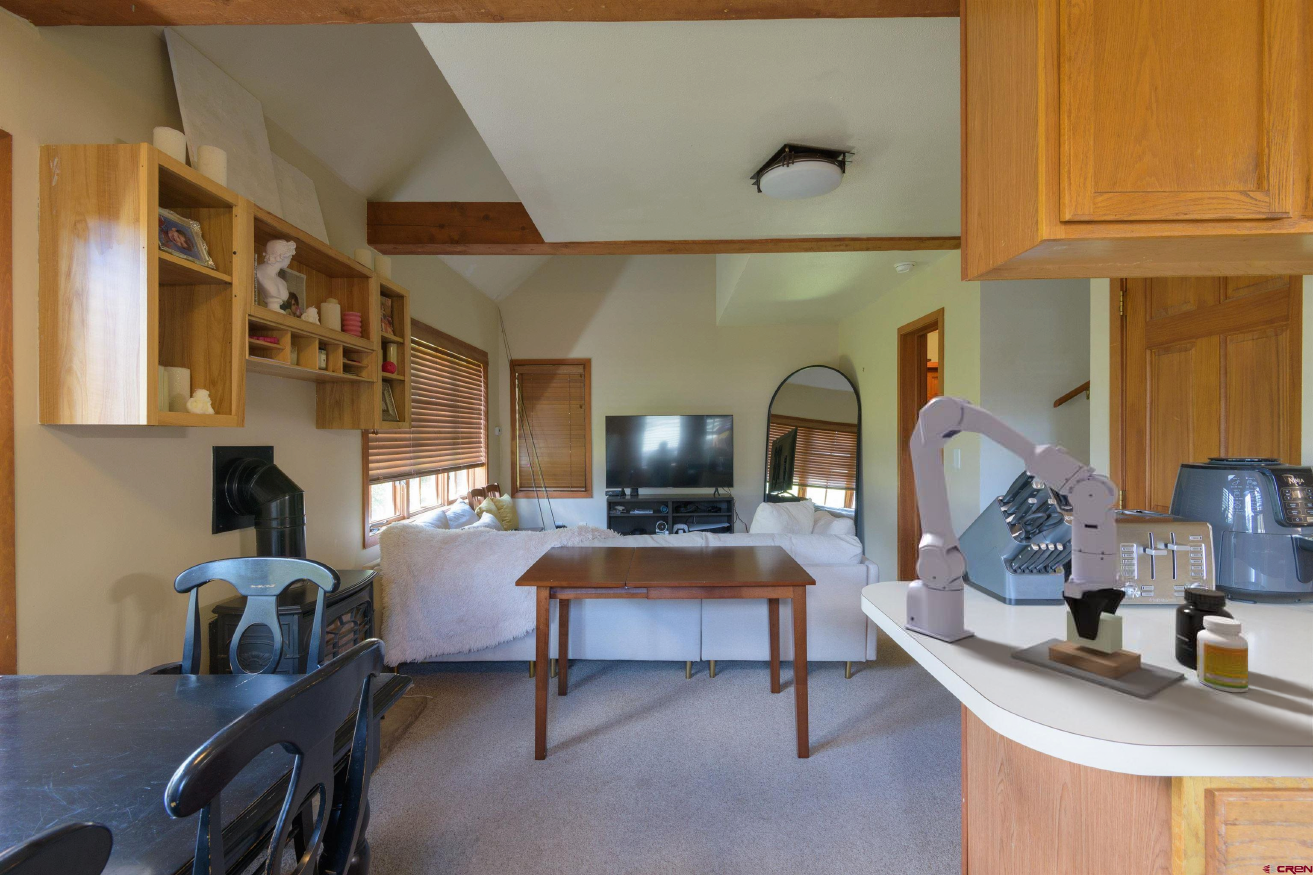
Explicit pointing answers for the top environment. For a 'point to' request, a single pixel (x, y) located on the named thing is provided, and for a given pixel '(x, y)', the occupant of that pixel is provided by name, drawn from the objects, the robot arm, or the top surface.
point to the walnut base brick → (1095, 659)
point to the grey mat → (1133, 683)
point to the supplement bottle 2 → (1222, 655)
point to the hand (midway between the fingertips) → (1093, 635)
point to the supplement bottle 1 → (1195, 621)
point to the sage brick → (1099, 633)
